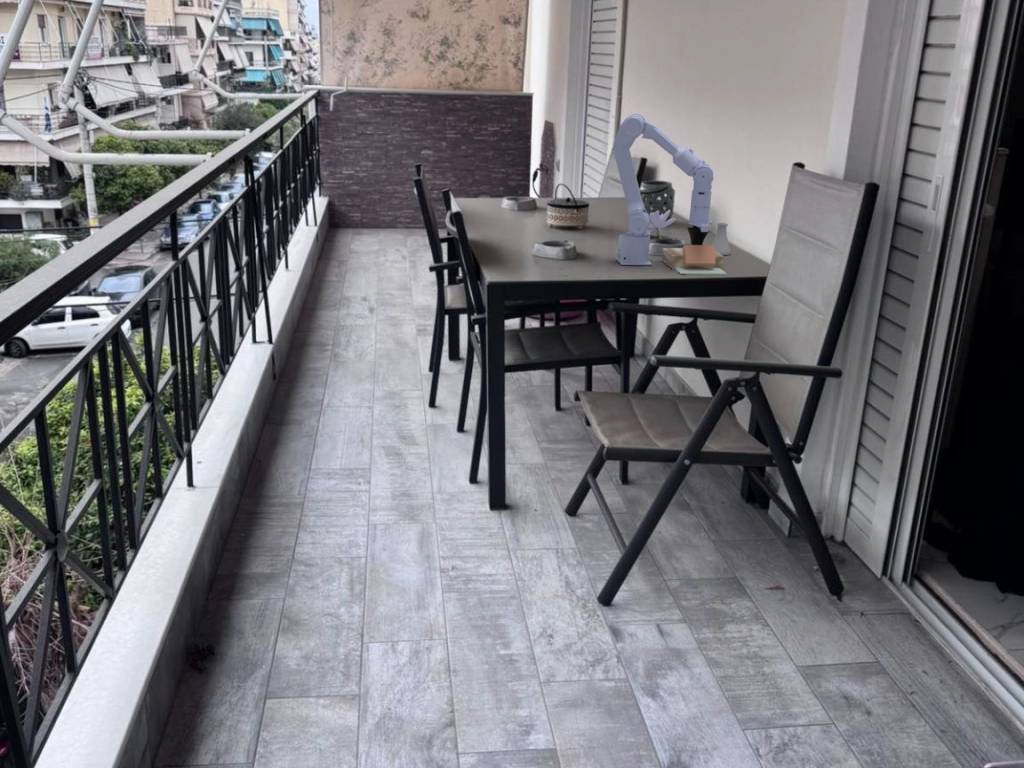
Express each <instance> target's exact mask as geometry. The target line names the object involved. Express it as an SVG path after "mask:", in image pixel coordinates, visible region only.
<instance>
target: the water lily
mask: <svg viewBox="0 0 1024 768" xmlns="http://www.w3.org/2000/svg"><path fill="white" fill-rule="evenodd" d="M671 210H672V209H668V210H667V211H666V212H665V213H664V212H662V213H661V214H660V213H659V211H658V210H656V211H655V212H652V211H651V212H650V213H649V215H650V218H651V222H650V225H649V227H648V231H649V232H650V234H653V233H655V235H656V236H658V238H659V239H660V238H662V235H663V230H662V229H663V228H666V227H668V226H670V225H671V224H672V223H674V222H675V221H676V220H677V218H675V217H673V218H669V219H668V217H669V216H670V214H671ZM667 219H668V220H667Z"/></svg>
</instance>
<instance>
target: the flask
mask: <svg viewBox="0 0 1024 768" xmlns="http://www.w3.org/2000/svg"><path fill="white" fill-rule="evenodd" d="M716 223H717V222H716ZM716 225H717V229H716V233H715V235H714V238H713V240H712V243H711V244H710V245H714V250H716V251H717V252H718V253H720V254H721V255H723V256H729V255H732V251H731V248H730V244H729V240H728V235H727V226H728V225H729V224H728V223H726V222H718V223H717V224H716Z"/></svg>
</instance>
